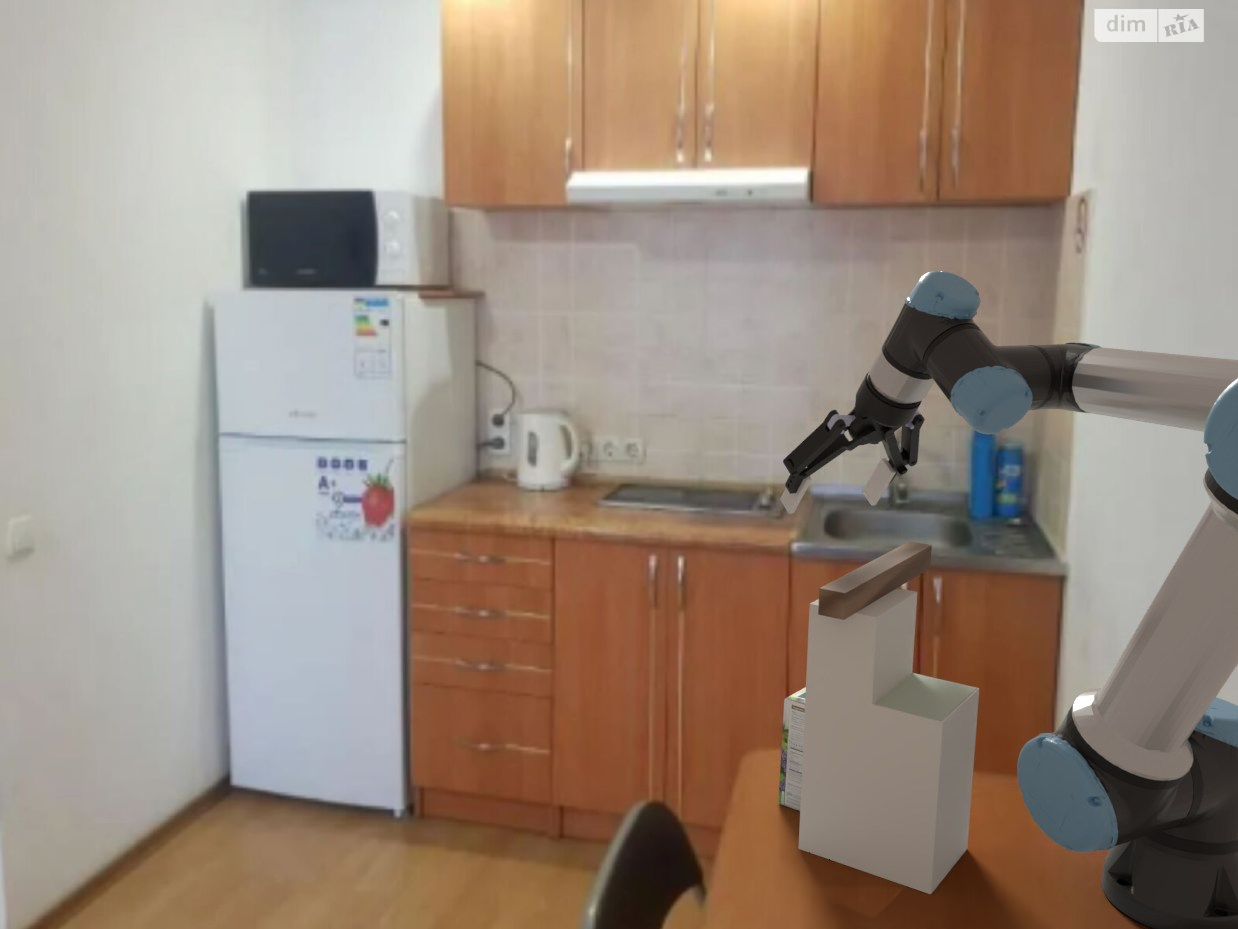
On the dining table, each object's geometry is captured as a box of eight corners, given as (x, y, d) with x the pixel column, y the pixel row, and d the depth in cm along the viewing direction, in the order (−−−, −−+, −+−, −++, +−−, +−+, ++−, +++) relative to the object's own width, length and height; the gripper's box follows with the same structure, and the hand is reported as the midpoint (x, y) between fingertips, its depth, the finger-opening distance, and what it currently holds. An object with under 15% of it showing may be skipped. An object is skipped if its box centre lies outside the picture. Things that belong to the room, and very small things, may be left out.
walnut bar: (930, 568, 141) (931, 545, 140) (843, 620, 120) (845, 593, 120) (907, 564, 143) (908, 541, 142) (818, 614, 122) (819, 588, 121)
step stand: (967, 849, 132) (985, 604, 126) (930, 894, 122) (949, 632, 116) (841, 809, 141) (853, 580, 135) (798, 848, 131) (809, 603, 126)
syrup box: (800, 788, 146) (805, 683, 144) (840, 802, 143) (846, 695, 140) (777, 804, 142) (781, 696, 139) (818, 819, 138) (823, 708, 136)
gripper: (957, 362, 145) (888, 475, 159) (797, 368, 134) (738, 489, 148) (988, 401, 140) (914, 514, 154) (826, 410, 130) (762, 531, 144)
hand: (828, 502), depth 151 cm, fingers open, 13 cm apart
